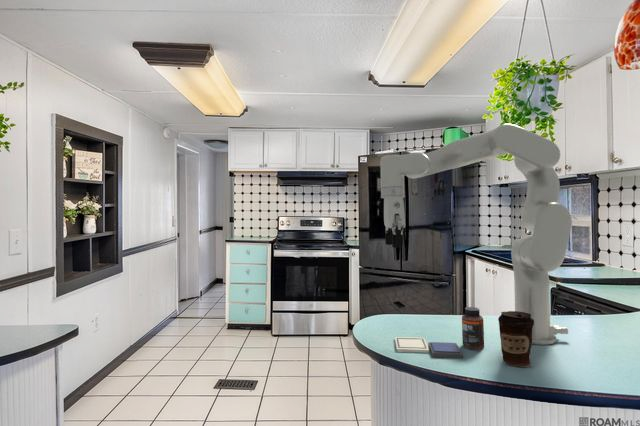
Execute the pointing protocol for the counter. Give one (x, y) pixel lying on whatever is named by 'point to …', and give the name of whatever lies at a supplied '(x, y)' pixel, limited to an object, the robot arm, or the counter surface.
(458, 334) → the counter surface
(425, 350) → the board
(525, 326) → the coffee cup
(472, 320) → the supplement bottle
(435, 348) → the ink pad
